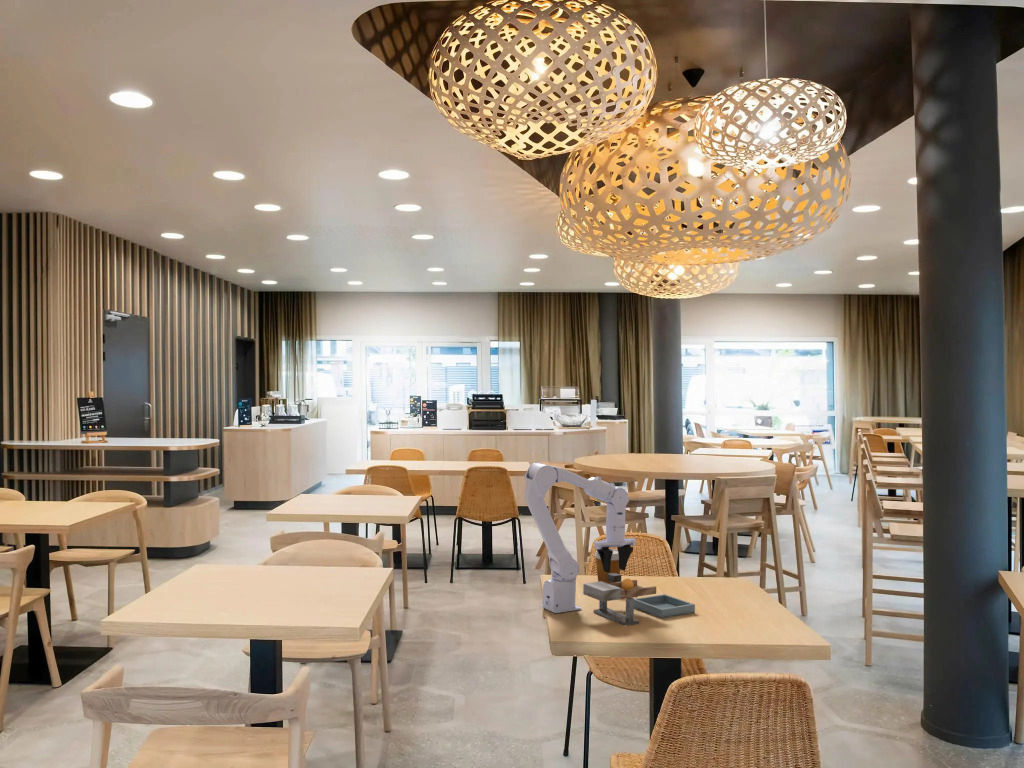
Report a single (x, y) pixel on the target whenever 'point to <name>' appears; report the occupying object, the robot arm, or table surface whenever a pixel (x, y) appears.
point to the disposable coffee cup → (613, 567)
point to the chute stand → (617, 616)
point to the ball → (627, 584)
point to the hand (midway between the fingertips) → (614, 570)
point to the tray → (664, 606)
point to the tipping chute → (615, 589)
